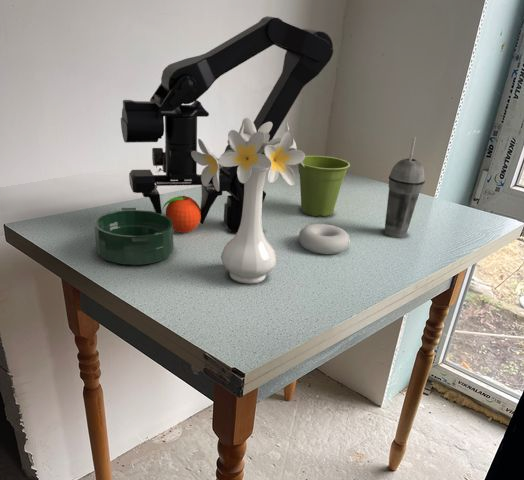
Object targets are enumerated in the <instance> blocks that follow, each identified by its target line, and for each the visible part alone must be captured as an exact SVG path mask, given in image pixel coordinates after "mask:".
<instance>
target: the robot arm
mask: <svg viewBox="0 0 524 480" xmlns="http://www.w3.org/2000/svg"><path fill="white" fill-rule="evenodd" d="M272 46H276V47H278V48H280V49H282V50H284V51H285V54H284V57H283V58H284V59H283V65H282V70H281V73H280V75H279V77H278V79H277V81H276V82H275V84H274V86H273V87H272V89H271V91H270V93H269V94H268V96H267V98H266V99H265V101H264V103H263V105H262V106H261V108H260V110H259V112H258V113H257V115H256V116H255V119H254V120H253V123H254V125H255V128H256V131H257V132H258V129H259V128H260V127H261V126H262V125H263V124H264V123H266V122H272V128H271V130H270V132H269V133H268V134H269V135H270V138H269V141H270V140H272V139H274V137H275V135H276V134H277V132H278V130H279V129H280V127H281V125H282V124H283V122H284V120H285V119H286V118H287V115H288V114H289V112H290V110H291V109H292V107H293V106H294V104H295V102H296V100H297V98H298V97H299V95H300V94H301V91H302V90H303V89H304V87H305V86H307V85H308V83H310V82H311V81H313V80H314V79H315V78H316V77H317V76H319V74H321V72H322V71H323V70H324V69H325V68H326V66H327V65H328V64H329V63H330V61H331V60H332V58H333V55H334V49H333V48H334V45H333V40H332V38H331V36H330V35H329V34H328V33H327V32H325V31H321V30H315V29H310V28H300V27H297V26H295V25H293V24H290V23H287V22H285V21H283V20H282V19H281V18H279V17H275V16H270V15H269V16H268V15H267V16H264V17H262V18H261V19H260V20H259V21H258V22H256V23H254V24H253V25H251V26H249V27H248V28H246V29H245V30H242V31H241V32H238V33H237V34H236V35H234V36H233V37H230V38H229V39H227V40H226V41H224V42H222V43H221V44H219V45H217V46H215V47H214V48H212V49H210V50H209V51H207V52H205V53H203V54H199V55H196V56H192V57H187V58H184V59H181V60H178V61H175V62H172V63H170V64H168V65H167V66H165V68H164V69H163V71H162V74H161V78H160V81H161V82H160V84H159V85H158V87H157V88H156V89H155V91H154V93H153V95H152V96H151V97H150V99H149V101H148V100H147V101H145V100H143V101H142V100H141V101H140V100H133V99H123V100H122V109H121V117H120V127H121V128H120V129H121V134H122V135H121V136H122V139H123V142H124V143H128V144H129V143H158V142H159V140H160V139H162V137H163V136H164V138H165V139H164V143H165V145H164V146H165V147H164V148H162V147H152V149H151V158H152V165H153V167H162V173H165V174H153V172H152V170H151V169H131V170H130V172H129V173H128V179H129V186H130V188H131V191H132V193H134V194H142V196H143V197H144V198H149V200H150V202H151V204H152V207H153V209H154V212H156V213H160V214H162V215H163V210H162V204H161V195H160V192H159V191H158V187H166V186H167V187H168V186H169V187H170V186H173V187H174V186H175V187H176V186H201V198H200V199H201V200H200V210H201V220H200V222H199V224H200V225H203V224H204V223H205V220H206V218H207V216H208V215H209V212H210V210H211V207H212V206H213V204H214V203H215V201H216V200H217V198H218V197H219V196H220V197H221V196H223V192H227V193H228V194H229V195H227V198H226V202H225V203H224V206H223V207H224V208H223V224H224V225H225V226H226V227H227V229H228V231H229V232H230V233H233V234H237V232H238V230H239V227H240V223H241V218H242V211H243V200H244V183H241V182H240V181H239V180H238V176H237V169H238V166H239V165H238V166H232V167H224V166H223V167H222V168H220V169H219V192H218V191H217V190H216V189H215V187H214V184H213V177H214V176H213V177H212V178H211V180H210V182H209V183H208V185H207V186H204V185H203V184H202V181H201V174H198V173H197V172H198V171H197V169H198V163H197V162H196V161H195V160H194V159H193V158H192V155H191V152H192V151H197V152H198V117H199V118H202V117H203V118H204V117H205V118H207V117H209V115H210V113H209V111H207V109H205V108H204V106H203V104H202V103H201V101H199V100H198V99H199V98H200V97H201V96H203V95H204V94H205V93H206V92H208V90H209V89H210V88H211V87H212V85H213V84H214V83H215V82H216V81H217V80H218V79H219V78H220V77H222V76H223V75H225V74H226V73H228V72H231V71H232V70H233V69H235V68H237V67H238V66H239V65H242V64H244V63H246V62H247V61H249V60H250V59H253V58H254V57H255V56H257V55H258V54H260V53H263V52H264V51H266V50H267V49H269V48H270V47H272ZM269 141H268V142H269ZM227 150H233V149H232V148H231V147H230V145H229V144H228V143H227V145H226V147H225V149H224V152H225V151H227ZM264 153H265V152H262V153H261V154H264ZM220 166H221V165H220ZM266 196H267V192H266V191H265V190H263V197H262V204H264V202H265V199H266Z"/></svg>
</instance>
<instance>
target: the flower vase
mask: <svg viewBox="0 0 524 480" xmlns="http://www.w3.org/2000/svg"><path fill="white" fill-rule="evenodd" d="M285 119H286V118H285ZM253 122H254V120H252V119H251V118H250V117H244V118H243V119H242V121H241V125H240V128H239V131H237V130H235V129H230V130H229V131H228V132H227V138H228V139H227V145H228V144H229V145H230V147H231V148H232V149H233V150H227V151H225V150H224V151H223V153H222V154H221V155H220V156H219V157H217V156H216V155H215V154H214V153H213V152H212V151H211V150H210V149H209V148H208V146H207V145H206V144H205V143H204V141H203V140H202V139H201V138H197V145H198V146H199V149H200V151H198V150H197V151H192V152H191V155H192V158H193V159H194V160H195V161H196V162H197V165H200V166H202V167H203V166H204V168H203V169H202V171H201V174H200V175H201V181H202V184H203V185H204V186H207V185H208V183H209V182H210V180H211V178H212V177H213V176H214V177H213V184H214V187H215V189H216V190H217V191H218V192H219V169H220V168H222V167H223V166H224V167H232V166H238V165H239V166H238V169H237V176H238V180H239V181H240V182H241V183H244V200H243V211H242V218H241V223H240V227H239V230H238V232H237V233H235V234H234V235H235V236H233V237H232V238H231V239H230V240H229V241H228V242H227V243H226V244H225V245H224V247H223V249H222V251H221V255H220V260H221V263H222V265H223V267H224V268H225V269H226V270H227V271H228V272H229V276H230V278H231V280H233V281H235V282H238V283H241V284H248V285H249V284H258V283H261V282H263V281H265V279H266V278H267V275H268V274H269V273H271V272H272V271H273V270H274V269H275V267H276V265H277V262H278V261H277V259H278V257H277V255H276V251H275V248H274V247H273V246H272V244H271V243H270V242H269V241H268V239H267V238H266V236H265V233H264V228H263V222H262V221H263V203H262V197H263V191H264V186H265V182H266V178H267V181H268V183H270V184H273V183H274V182H276V181H277V180H278V178H279V176H281V178H282V179H283V180H284V181H285V182H286V184H287V185H288V186H291V187H292V186H294V185H295V184H296V176H295V172H294V171H293V169H292V168H291V166H295V165H298V164H299V163H300V164H301V165H302V166H303V167H304V164H303V160H304V158H305V156H306V154H305V152H304V151H302V150H299V149H297V143H296V141H295V139H294V136H293V132H292V130H291V128H290V127H289V122H288V119H286V120H285V129H284V133H283V134H282V136H281V137H276V138H273V139H272V140H270V141H269V138H270V135H269V134H268V133H269V132H270V130H271V128H272V122H266V123H264V124H263V125H262V126H261V127H260V128H259V129H258V132H257V131H256V128H255V125H254V123H253ZM268 141H269V142H268ZM277 144H278V145H277ZM275 145H277V147H276V146H275ZM262 152H264V154H261V153H262ZM220 165H221V166H220Z"/></svg>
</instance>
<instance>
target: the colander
mask: <svg viewBox="0 0 524 480" xmlns="http://www.w3.org/2000/svg"><path fill="white" fill-rule="evenodd" d="M93 226H94V239H95V250H96V254H97V255H98V256H100V258H102V259H104V260H106V261H108V262H112V263H114V264H115V263H116V264H122V265H133V266H135V265H136V266H137V265H138V266H139V265H148V264H154V263H158V262H162V261H164V260H166V259H167V258H169V257H171V256H172V254H173V252H174V229H173V222H172V220H171V219H170V218H168V217H167V216H166V214H163V213H162V214H160V213H156V212H155V211H152V210H151V211H150V210H143V209H136V210H122V209H121V210H114V211H110V212H107V213H103V214H101V215H100V216H98V217H96V218H95V220H94V222H93ZM139 237H147V238H148V241H149V245H132V242H131V238H139Z"/></svg>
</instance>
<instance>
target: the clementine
mask: <svg viewBox="0 0 524 480" xmlns="http://www.w3.org/2000/svg"><path fill="white" fill-rule="evenodd" d="M165 207H166V208H165ZM164 208H165V216H167V217H168V218H170V219H171V220H172V222H173V231H175V232H178V233H183V234H185V233H190V232H192V231H194V230H195V229H196V228H197V227H198V226H199V224H200V220H201V210H200V208H201V206H200V205H199V204H198V202H197V201H196V200H195V199H193V198H192V197H190V196H186V195H179V196H175V197H172V198H170V199H169V200H167V201H166V202H165V203H164V205H163V206H162V208H161V211H163V210H164Z"/></svg>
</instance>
